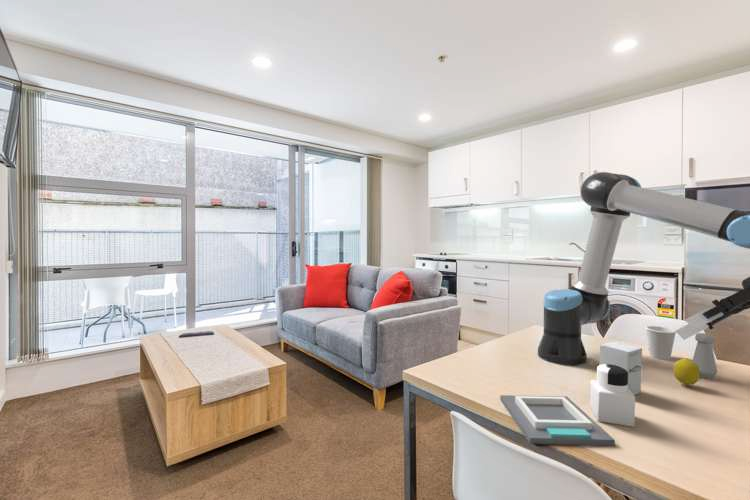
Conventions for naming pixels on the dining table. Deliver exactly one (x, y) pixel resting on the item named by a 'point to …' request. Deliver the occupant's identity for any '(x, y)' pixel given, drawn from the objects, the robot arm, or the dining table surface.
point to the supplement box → (624, 361)
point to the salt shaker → (705, 356)
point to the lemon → (686, 371)
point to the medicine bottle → (612, 396)
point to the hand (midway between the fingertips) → (684, 330)
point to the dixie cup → (660, 341)
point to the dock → (554, 421)
